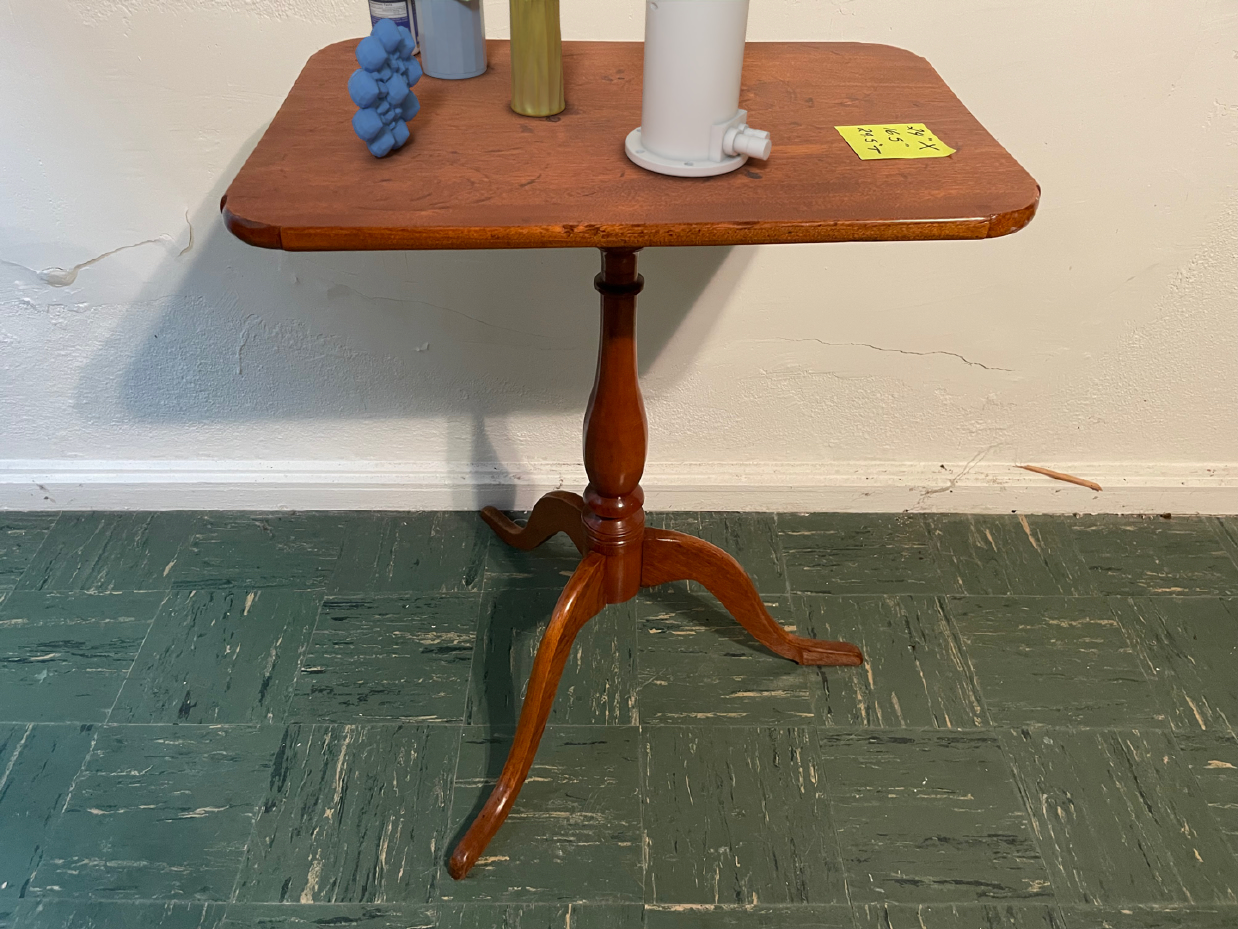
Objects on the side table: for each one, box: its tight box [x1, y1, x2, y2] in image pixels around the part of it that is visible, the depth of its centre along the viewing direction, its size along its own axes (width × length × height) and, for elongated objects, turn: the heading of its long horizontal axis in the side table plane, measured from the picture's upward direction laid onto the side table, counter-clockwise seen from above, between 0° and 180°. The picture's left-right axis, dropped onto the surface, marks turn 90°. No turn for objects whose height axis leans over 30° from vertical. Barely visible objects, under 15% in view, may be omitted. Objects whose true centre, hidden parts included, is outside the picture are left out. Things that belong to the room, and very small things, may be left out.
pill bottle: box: [367, 0, 420, 56], centre depth 114 cm, size 6×6×10 cm
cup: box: [415, 0, 488, 80], centre depth 110 cm, size 8×8×9 cm
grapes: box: [347, 18, 424, 158], centre depth 90 cm, size 12×7×12 cm, turn 161°
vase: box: [508, 0, 566, 118], centre depth 99 cm, size 6×6×14 cm
